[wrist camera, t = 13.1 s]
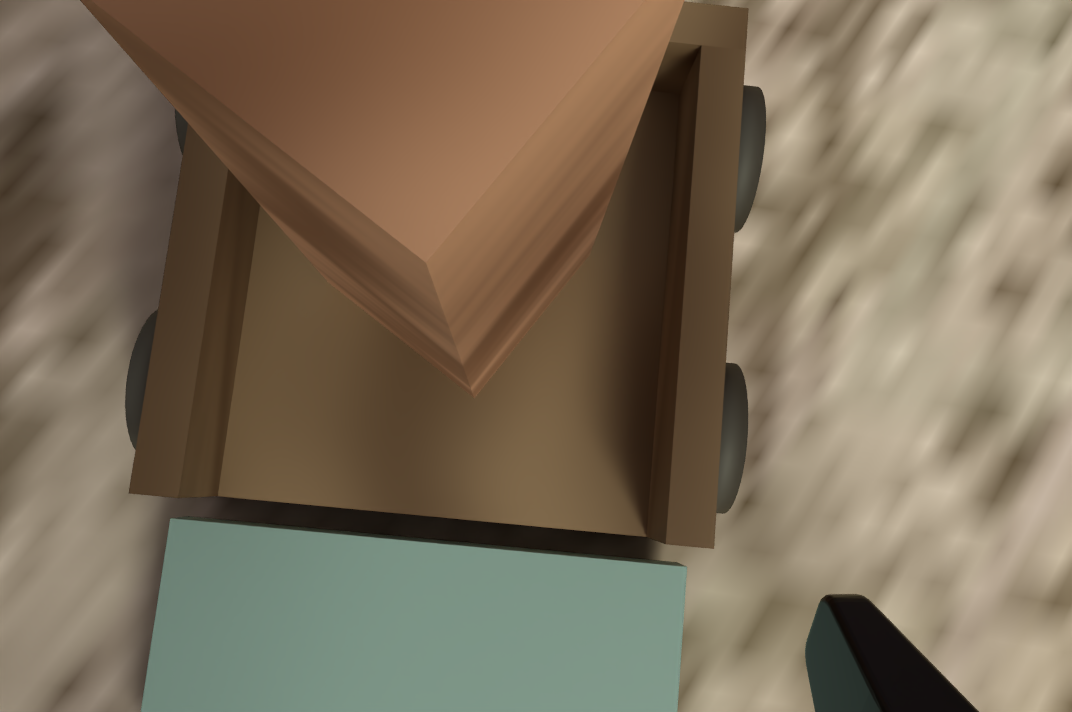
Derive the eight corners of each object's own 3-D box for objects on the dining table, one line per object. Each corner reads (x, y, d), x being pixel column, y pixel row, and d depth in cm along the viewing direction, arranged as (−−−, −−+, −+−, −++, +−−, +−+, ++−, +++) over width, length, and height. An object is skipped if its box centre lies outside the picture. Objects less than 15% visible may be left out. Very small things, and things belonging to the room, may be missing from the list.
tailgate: (188, 516, 21) (170, 518, 20) (677, 562, 22) (686, 567, 21) (149, 775, 21) (128, 793, 19) (658, 820, 21) (668, 840, 20)
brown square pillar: (590, 254, 22) (715, -86, 9) (474, 398, 21) (425, 263, 8) (446, 143, 22) (362, -344, 9) (328, 282, 21) (56, -27, 8)
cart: (732, 98, 24) (783, 12, 20) (703, 538, 23) (752, 552, 18) (239, 45, 24) (179, -54, 20) (171, 488, 22) (89, 489, 18)
